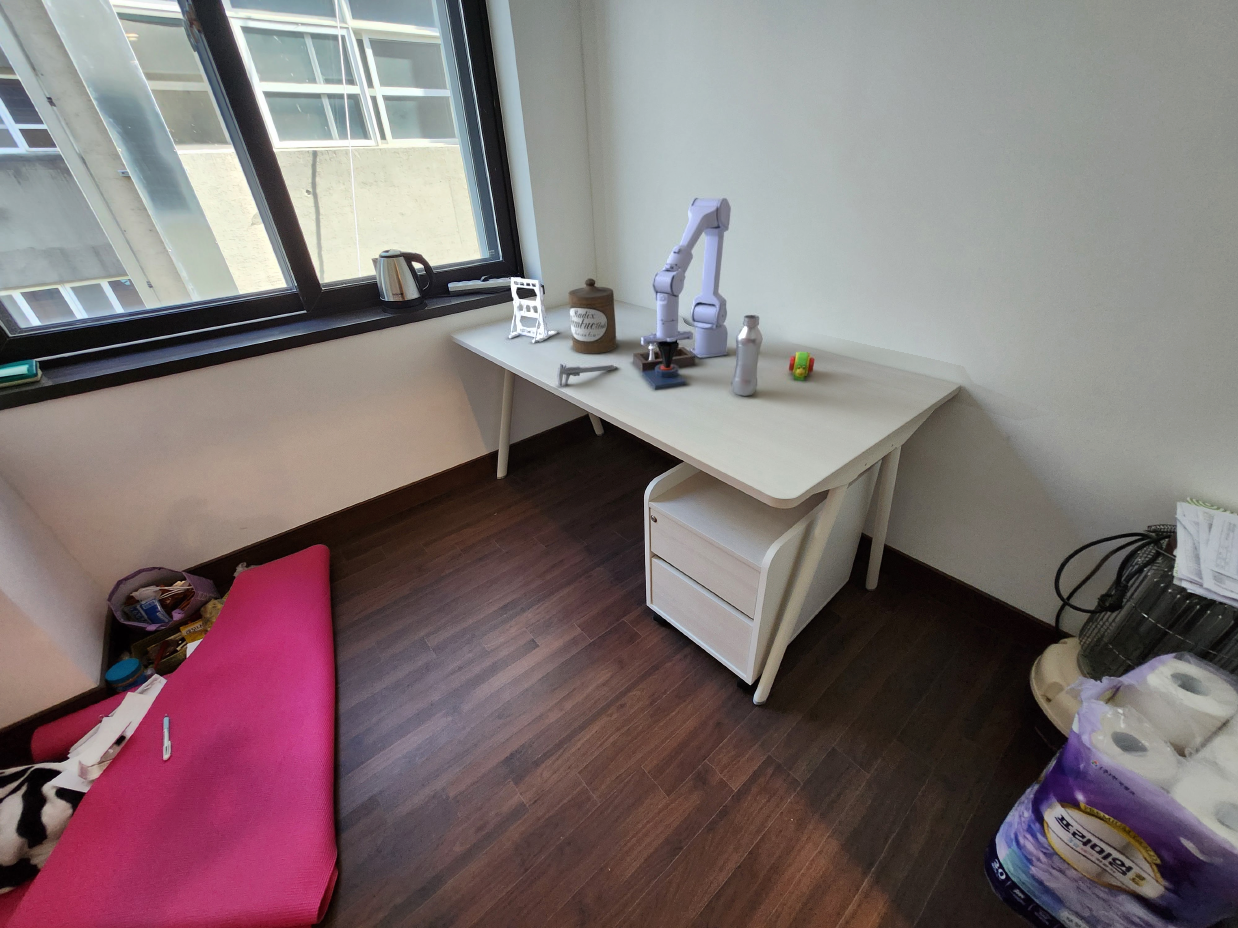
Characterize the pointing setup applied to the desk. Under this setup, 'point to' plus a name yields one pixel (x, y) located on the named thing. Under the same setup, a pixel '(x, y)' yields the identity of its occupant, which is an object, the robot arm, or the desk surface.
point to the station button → (666, 368)
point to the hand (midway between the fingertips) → (666, 366)
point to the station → (664, 377)
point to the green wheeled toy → (801, 365)
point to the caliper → (579, 371)
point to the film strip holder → (541, 315)
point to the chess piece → (651, 351)
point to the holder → (644, 364)
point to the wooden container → (592, 318)
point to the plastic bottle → (747, 356)
